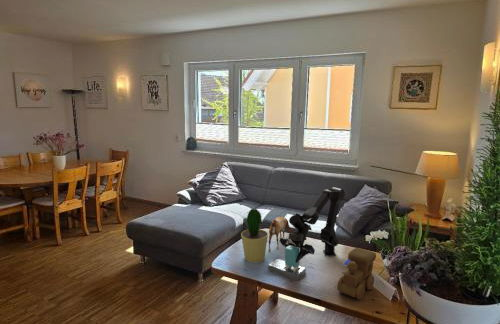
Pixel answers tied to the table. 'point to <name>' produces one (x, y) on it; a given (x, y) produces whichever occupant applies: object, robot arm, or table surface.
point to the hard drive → (346, 262)
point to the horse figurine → (278, 229)
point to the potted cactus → (254, 238)
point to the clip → (291, 258)
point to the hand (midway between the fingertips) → (290, 260)
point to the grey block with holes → (280, 268)
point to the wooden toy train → (358, 273)
